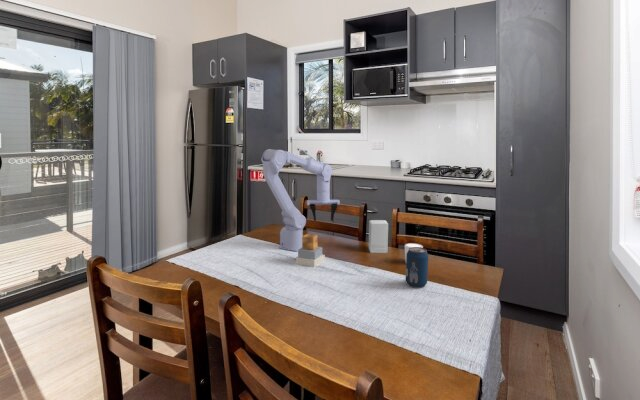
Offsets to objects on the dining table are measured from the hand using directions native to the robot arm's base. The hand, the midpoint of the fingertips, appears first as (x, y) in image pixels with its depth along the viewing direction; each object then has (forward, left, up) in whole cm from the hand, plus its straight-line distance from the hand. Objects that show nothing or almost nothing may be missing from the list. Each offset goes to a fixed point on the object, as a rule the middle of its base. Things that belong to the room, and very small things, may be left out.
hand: (323, 220), depth 177 cm
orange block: (+10, -27, -5) cm, 29 cm away
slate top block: (+10, -27, -8) cm, 29 cm away
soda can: (+52, -27, -11) cm, 60 cm away
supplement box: (+26, +2, -11) cm, 28 cm away
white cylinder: (+44, -6, -11) cm, 46 cm away
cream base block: (+10, -26, -11) cm, 30 cm away
